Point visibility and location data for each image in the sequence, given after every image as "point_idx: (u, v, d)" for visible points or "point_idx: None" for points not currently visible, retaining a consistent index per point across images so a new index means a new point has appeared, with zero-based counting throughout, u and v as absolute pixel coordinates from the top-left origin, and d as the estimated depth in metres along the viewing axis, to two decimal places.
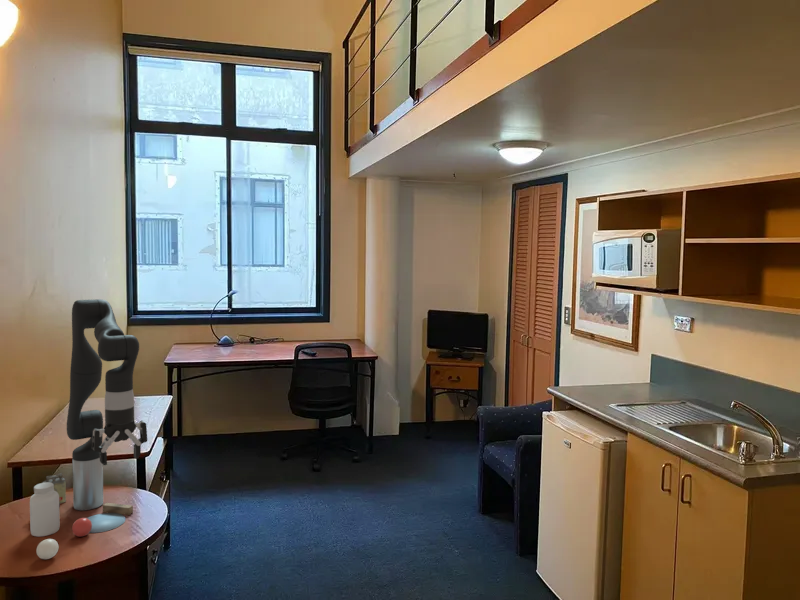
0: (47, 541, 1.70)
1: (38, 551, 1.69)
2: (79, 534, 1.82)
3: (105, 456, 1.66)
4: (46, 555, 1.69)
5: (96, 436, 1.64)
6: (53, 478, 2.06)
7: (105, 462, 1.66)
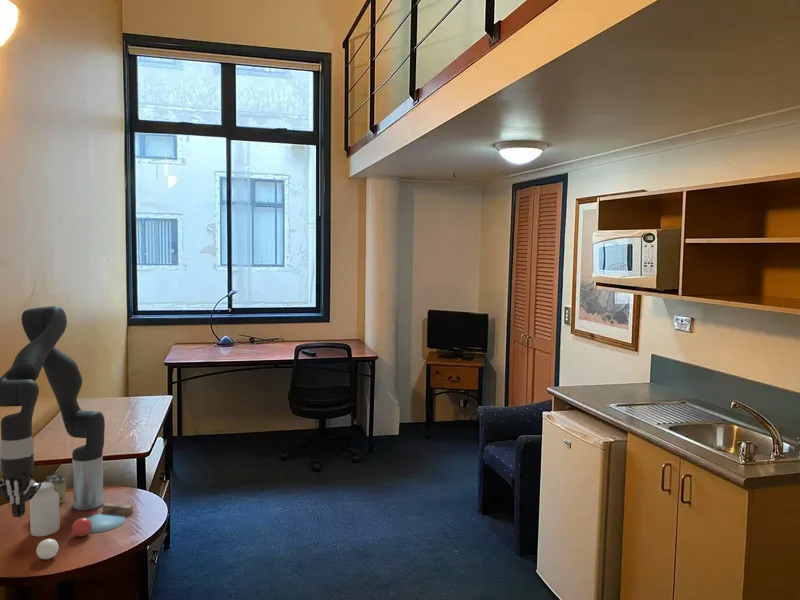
0: (47, 541, 1.70)
1: (38, 551, 1.69)
2: (79, 534, 1.82)
3: None
4: (46, 555, 1.69)
5: None
6: (53, 478, 2.06)
7: None
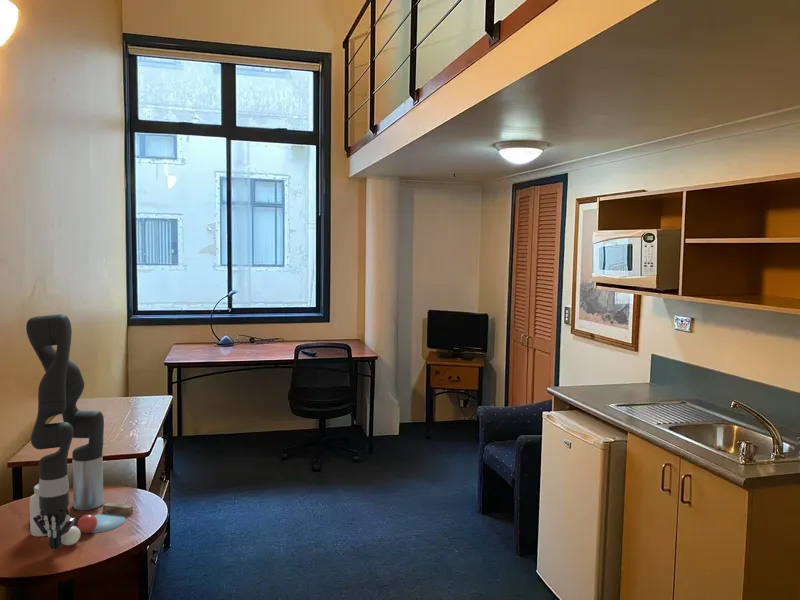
0: None
1: None
2: (84, 524, 1.85)
3: None
4: None
5: None
6: None
7: None
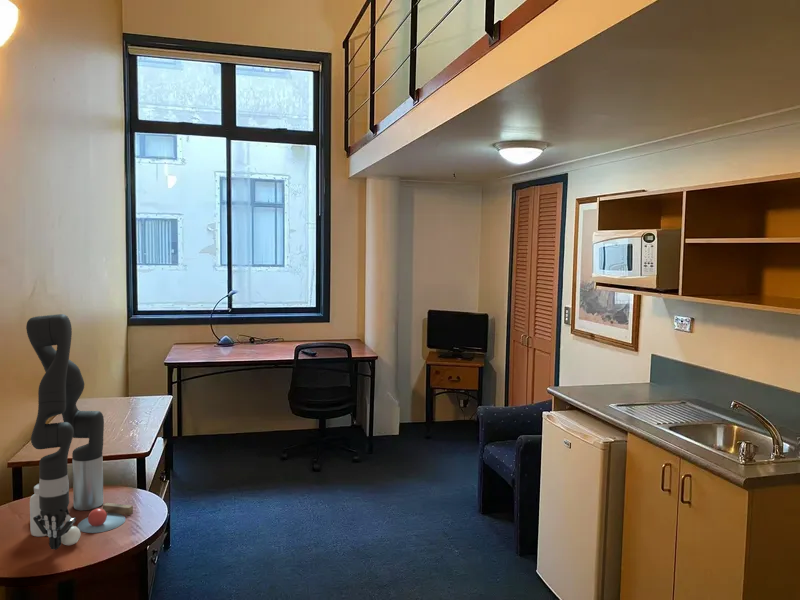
0: None
1: None
2: (102, 509, 1.93)
3: None
4: None
5: None
6: None
7: None
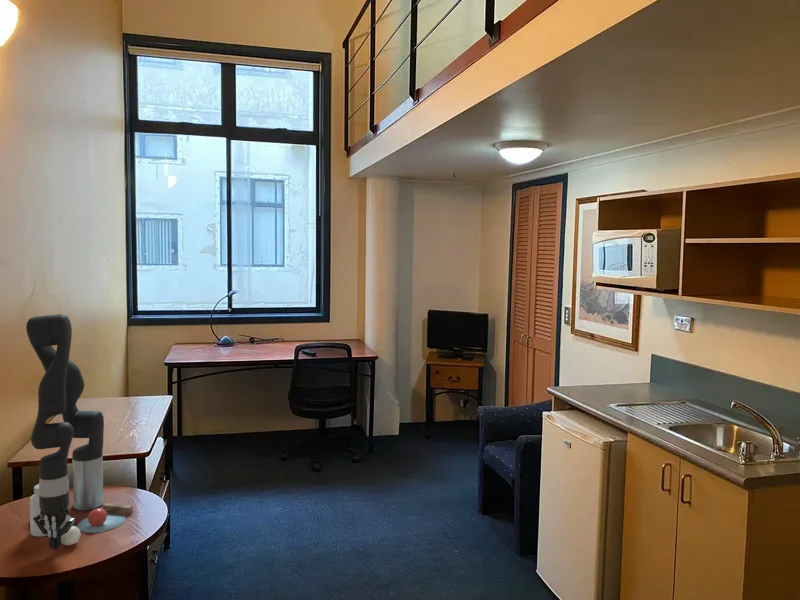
0: None
1: None
2: (102, 509, 1.93)
3: None
4: None
5: None
6: None
7: None
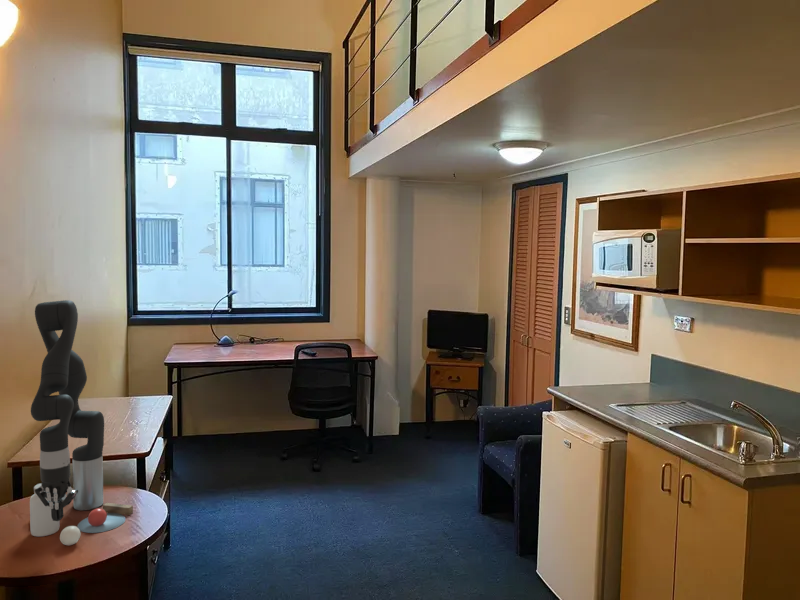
0: None
1: None
2: (102, 509, 1.93)
3: None
4: None
5: None
6: None
7: None
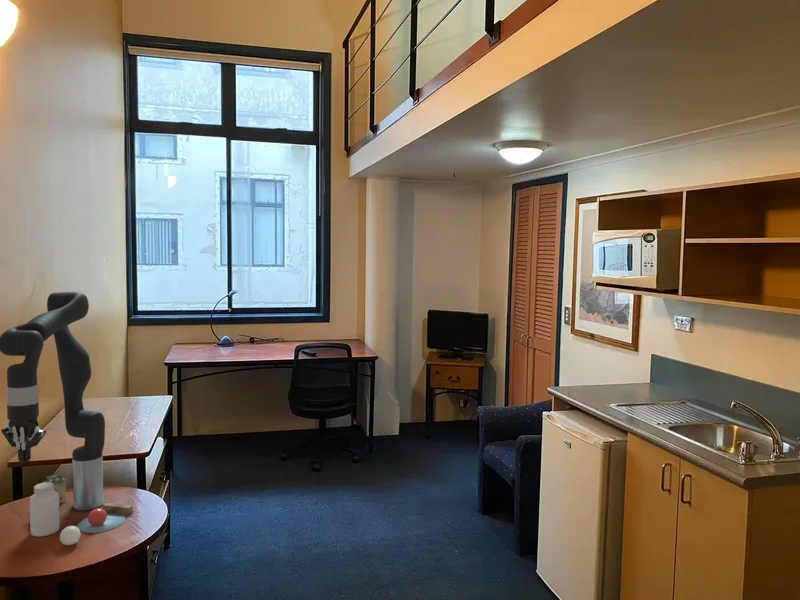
0: None
1: None
2: (102, 509, 1.93)
3: None
4: None
5: None
6: (53, 478, 2.06)
7: None
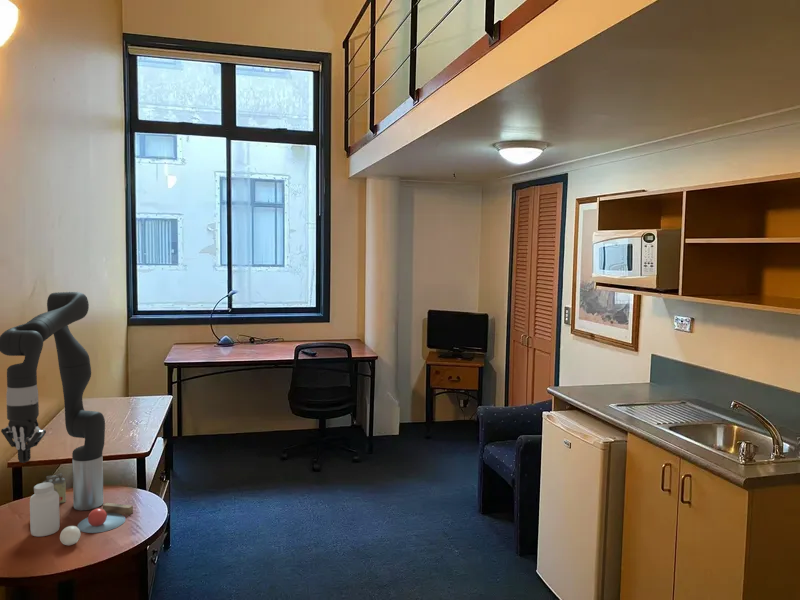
0: None
1: None
2: (102, 509, 1.93)
3: None
4: None
5: None
6: (53, 478, 2.06)
7: None
